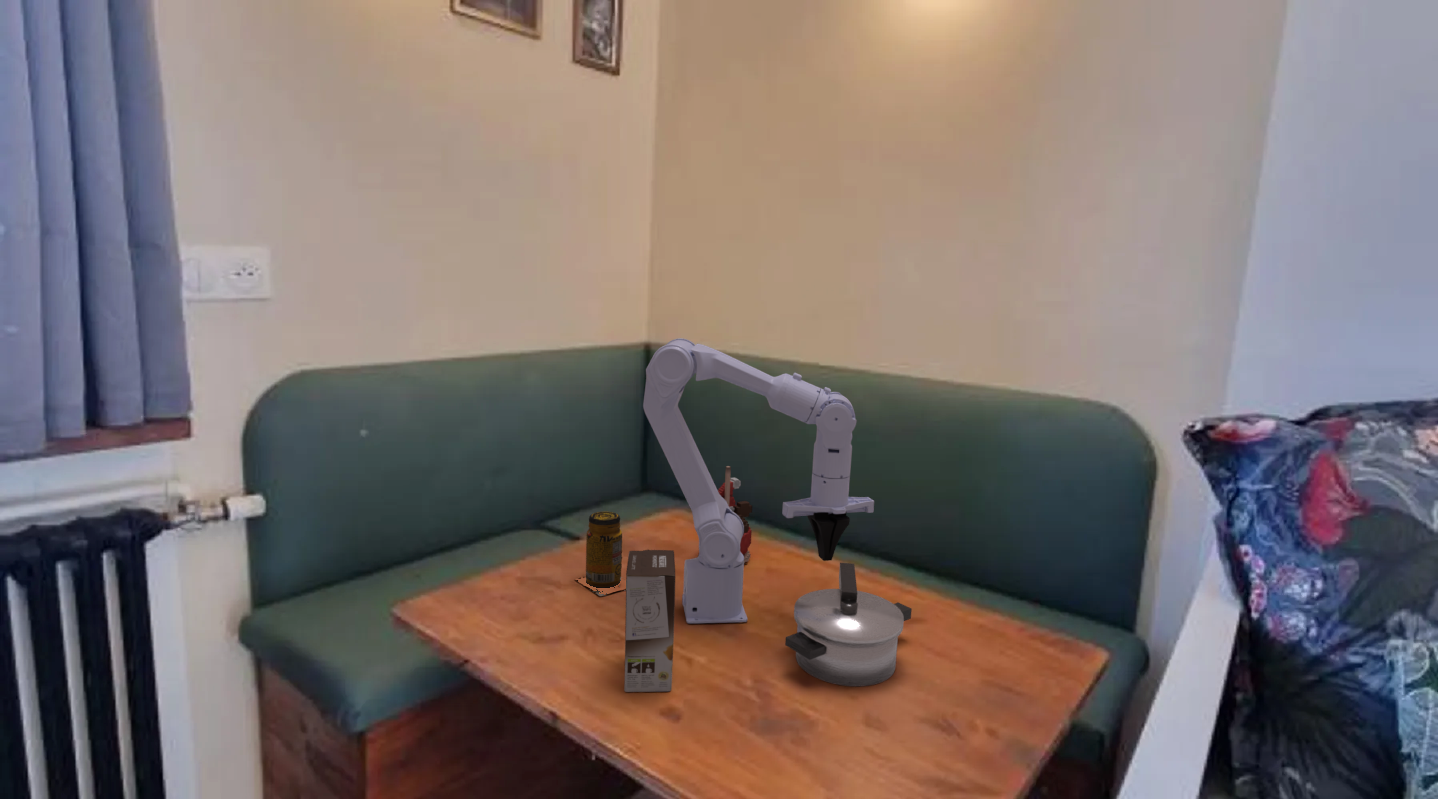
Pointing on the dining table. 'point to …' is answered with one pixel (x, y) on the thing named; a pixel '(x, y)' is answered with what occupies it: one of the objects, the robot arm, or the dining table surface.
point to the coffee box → (649, 620)
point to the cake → (737, 510)
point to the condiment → (603, 550)
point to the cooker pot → (845, 658)
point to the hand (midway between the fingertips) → (825, 558)
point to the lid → (848, 613)
